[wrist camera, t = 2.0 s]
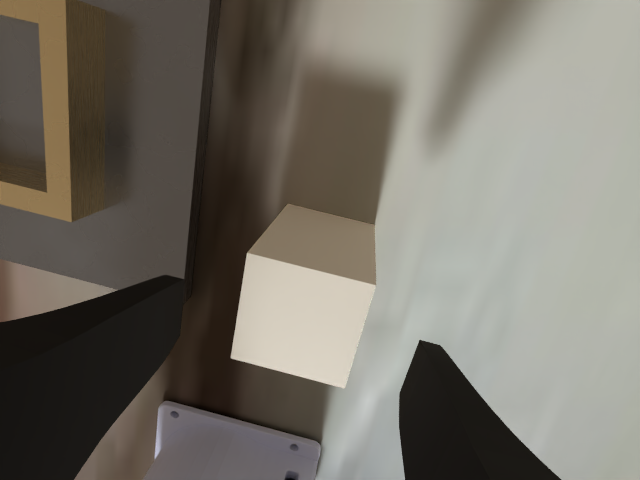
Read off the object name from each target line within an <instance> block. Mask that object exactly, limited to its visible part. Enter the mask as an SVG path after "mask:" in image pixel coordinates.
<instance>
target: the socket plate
mask: <svg viewBox="0 0 640 480" xmlns="http://www.w3.org/2000/svg"><path fill="white" fill-rule="evenodd" d="M220 4H221V0H0V259H3V260H7V261H11V262H14V263H18V264H22V265H26V266H30V267H34V268H37V269H41V270H45V271H49V272H53V273H57V274H60V275H64V276H68V277H72V278H76V279H80V280H83V281H87V282H91V283H95V284H99V285H103V286H106V287H110V288H114V289H118V290H121V289H123V288H126V287H129V286H132V285H135V284H138V283H141V282H143V281H146V280H149V279H152V278H155V277H159V276H162V275H170V276H174V277H177V278H181V279H185V285H184V296H183V304H184V303H185V302H186V301H187V300H188V299H189V298H190V297H191V289H192V280H193V270H194V260H195V250H196V240H197V230H198V221H199V211H200V201H201V191H202V181H203V171H204V162H205V152H206V142H207V132H208V122H209V112H210V102H211V93H212V83H213V73H214V63H215V53H216V43H217V34H218V24H219V14H220Z"/></svg>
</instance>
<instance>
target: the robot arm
mask: <svg viewBox="0 0 640 480" xmlns="http://www.w3.org/2000/svg"><path fill="white" fill-rule="evenodd" d="M184 285H185V279H181V278H177V277H174V276H170V275H162V276H159V277H155V278H152V279H149V280H146V281H143V282H141V283H138V284H135V285H132V286H129V287H126V288H123V289H121V290H118V291H115V292H112V293H109V294H106V295H103V296H100V297H97V298H94V299H91V300H87V301H84V302H81V303H78V304H74V305H71V306H68V307H65V308H61V309H57V310H54V311H50V312H46V313H42V314H38V315H34V316H29V317H25V318H20V319H16V320H11V321H6V322H0V480H74V479H75V477H76V476H77V474H78V473H79V471H80V470H81V468H82V467H83V465H84V464H85V462H86V461H87V459H88V458H89V456H90V455H91V453H92V452H93V450H94V449H95V447H96V446H97V445H98V443H99V442H100V440H101V439H102V437H103V436H104V435H105V434H106V432H107V431H108V430H109V428H110V427H111V426H112V424H113V423H114V422H115V421H116V420H117V418H118V417H119V416H120V415H121V413H122V412H123V411H124V410H125V409H126V407H127V406H128V405H129V404H130V403H131V401H132V400H133V399H134V398H135V397H136V395H137V394H138V393H139V392H140V390H141V389H142V388H143V387H144V386H145V384H146V383H147V382H148V381H149V380H150V378H151V377H152V376H153V375H154V373H155V372H156V371H157V370H158V368H159V367H160V366H161V365H162V363H163V362H164V360H165V359H166V357H167V356H168V354H169V353H170V351H171V349H172V348H173V346H174V344H175V343H176V341H177V339H178V338H179V336H180V329H181V318H182V307H183V296H184ZM175 411H176V412H175ZM399 429H400V439H401V448H402V456H403V465H404V473H405V480H561V479H560V478H559V477H558V476H557V475H555V474H554V473H553V472H552V471H551V470H550V469H549V468H548V467H547V466H546V465H545V464H543V463H542V462H541V461H540V460H539V459H538V458H537V457H536V456H535V455H534V454H533V453H532V452H531V451H530V450H529V449H528V448H527V447H526V446H525V445H524V444H523V443H522V442H521V441H520V440H519V439H518V438H517V437H516V436H515V435H514V434H513V433H512V431H511V430H510V429H509V428H508V427H507V426H506V425H505V424H504V423H503V421H502V420H501V419H500V418H499V417H498V416H497V415H496V414H495V413H494V411H493V410H492V409H491V408H490V407H489V406H488V404H487V403H486V402H485V401H484V400H483V398H482V397H481V396H480V395H479V394H478V392H477V391H476V390H475V389H474V387H473V386H472V385H471V384H470V382H469V381H468V380H467V378H466V377H465V376H464V375H463V373H462V372H461V371H460V369H459V368H458V367H457V366H456V364H455V363H454V362H453V360H452V359H451V358H450V356H449V355H448V354H447V353H446V351H445V350H444V349H443V348H442V347H441V346H440V345H437V344H433V343H429V342H425V341H422V340H419V343H418V346H417V348H416V351H415V354H414V356H413V359H412V362H411V364H410V367H409V370H408V372H407V375H406V378H405V380H404V383H403V386H402V388H401V391H400V399H399ZM294 444H296V445H294ZM320 452H321V446H320V444H319V443H318V442H316V441H314V440H310V439H307V438H303V437H299V436H296V435H292V434H288V433H285V432H281V431H277V430H274V429H270V428H266V427H263V426H259V425H255V424H252V423H248V422H244V421H241V420H237V419H233V418H230V417H226V416H222V415H219V414H215V413H211V412H208V411H204V410H200V409H197V408H193V407H189V406H186V405H182V404H179V403H175V402H171V401H164V402H163V403H162V404H161V405H160V407H159V409H158V420H157V433H156V446H155V460H154V462H153V464H152V465H151V467H150V468H149V470H148V472H147V473H146V475H145V477H144V478H143V480H315V477H316V471H317V464H318V460H319V456H320Z"/></svg>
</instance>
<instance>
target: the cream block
mask: <svg viewBox="0 0 640 480" xmlns="http://www.w3.org/2000/svg"><path fill="white" fill-rule="evenodd" d="M375 287H376V263H375V225H373V224H369V223H365V222H361V221H357V220H353V219H349V218H345V217H341V216H336V215H332V214H328V213H324V212H320V211H316V210H312V209H308V208H304V207H300V206H296V205H292V204H287V205H286V206H285V208H284V209H283V210H282V211H281V212H280V214H279V215H278V216H277V217H276V218H275V220H274V221H273V222H272V223H271V224H270V226H269V227H268V228H267V229H266V230H265V232H264V233H263V234H262V235H261V237H260V238H259V239H258V240H257V241H256V243H255V244H254V245H253V246H252V247H251V249H250V250H249V251H248V252H247V256H246V263H245V269H244V275H243V282H242V288H241V295H240V301H239V307H238V314H237V320H236V327H235V333H234V339H233V346H232V352H231V359H235V360H239V361H243V362H246V363H250V364H254V365H258V366H262V367H265V368H269V369H273V370H277V371H280V372H284V373H288V374H292V375H295V376H299V377H303V378H307V379H311V380H314V381H318V382H322V383H326V384H329V385H333V386H337V387H341V388H344V389H345V386H346V383H347V380H348V376H349V373H350V370H351V366H352V363H353V360H354V357H355V353H356V350H357V347H358V343H359V340H360V337H361V333H362V330H363V327H364V324H365V320H366V317H367V314H368V310H369V307H370V304H371V300H372V297H373V294H374V291H375Z"/></svg>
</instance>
